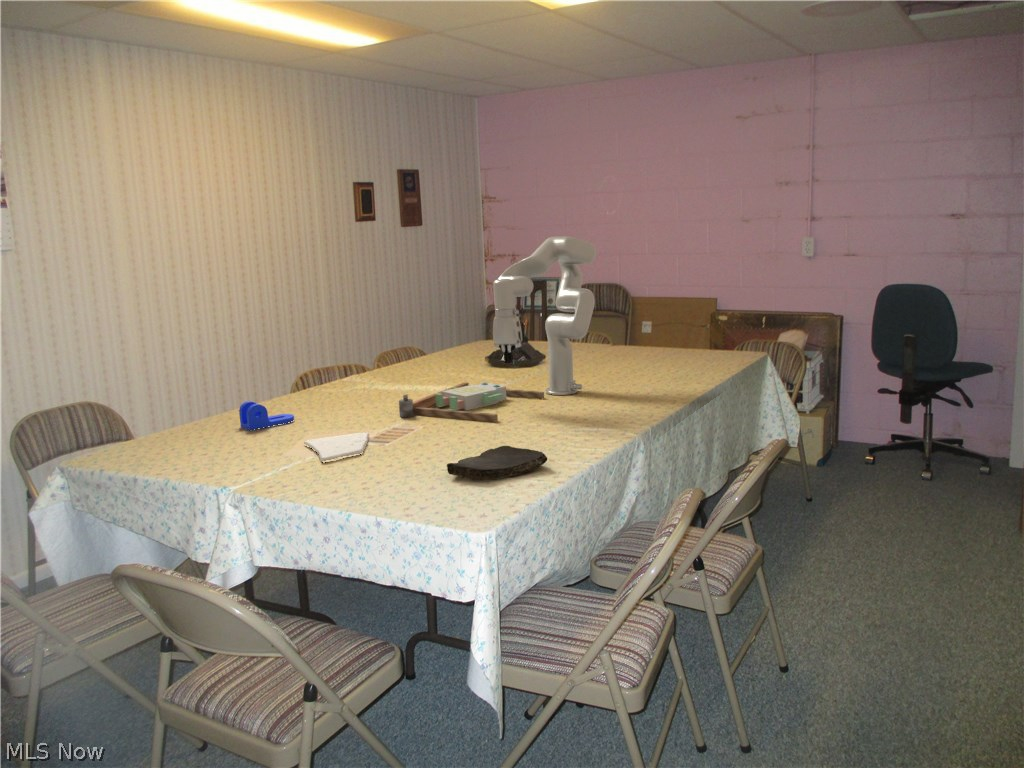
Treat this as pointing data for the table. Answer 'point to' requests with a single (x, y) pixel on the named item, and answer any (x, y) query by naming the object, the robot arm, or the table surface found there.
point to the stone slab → (498, 463)
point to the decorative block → (471, 396)
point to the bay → (426, 404)
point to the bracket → (260, 416)
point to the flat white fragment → (339, 445)
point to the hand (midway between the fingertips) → (508, 362)
